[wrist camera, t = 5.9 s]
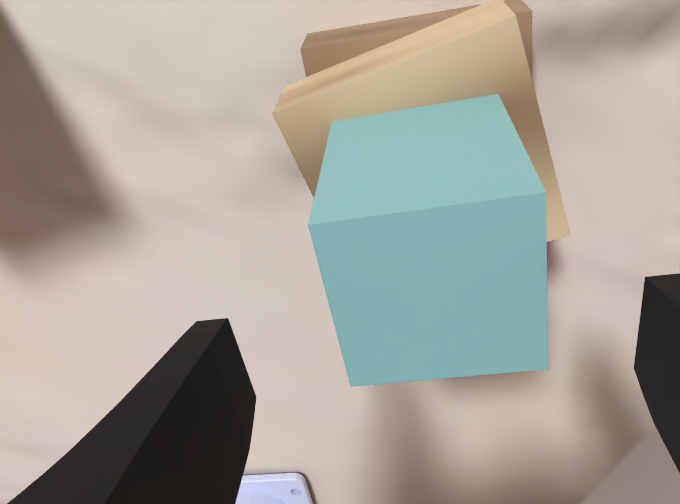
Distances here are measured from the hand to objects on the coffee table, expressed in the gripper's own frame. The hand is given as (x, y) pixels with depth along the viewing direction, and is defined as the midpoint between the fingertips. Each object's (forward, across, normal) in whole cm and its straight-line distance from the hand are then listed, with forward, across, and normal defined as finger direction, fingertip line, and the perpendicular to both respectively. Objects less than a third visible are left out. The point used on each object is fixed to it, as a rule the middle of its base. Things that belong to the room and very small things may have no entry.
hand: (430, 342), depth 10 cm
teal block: (+6, 0, 0) cm, 6 cm away
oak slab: (+8, 0, 0) cm, 8 cm away
